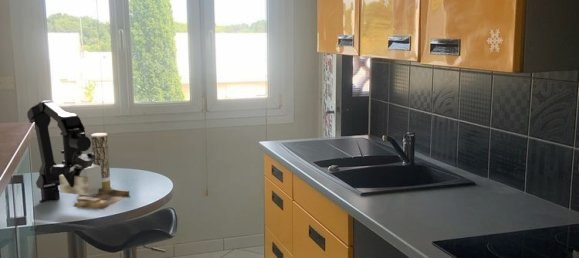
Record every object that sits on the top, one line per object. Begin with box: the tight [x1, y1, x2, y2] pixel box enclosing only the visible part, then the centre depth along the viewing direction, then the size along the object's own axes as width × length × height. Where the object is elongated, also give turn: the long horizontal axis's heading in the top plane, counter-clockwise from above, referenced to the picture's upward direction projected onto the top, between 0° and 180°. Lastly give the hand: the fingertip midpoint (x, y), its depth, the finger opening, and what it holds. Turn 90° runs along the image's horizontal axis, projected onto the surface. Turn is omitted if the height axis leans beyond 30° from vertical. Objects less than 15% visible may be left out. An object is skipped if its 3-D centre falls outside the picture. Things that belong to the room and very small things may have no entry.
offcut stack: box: [73, 195, 109, 209], centre depth 238 cm, size 13×4×3 cm, turn 73°
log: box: [90, 132, 111, 189], centre depth 262 cm, size 7×7×25 cm
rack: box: [72, 188, 130, 210], centre depth 245 cm, size 14×19×3 cm
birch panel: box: [59, 175, 89, 196], centre depth 232 cm, size 12×2×7 cm, turn 73°
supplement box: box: [80, 164, 102, 197], centre depth 256 cm, size 7×7×13 cm
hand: (73, 186), depth 232 cm, fingers closed on birch panel, 2 cm apart
